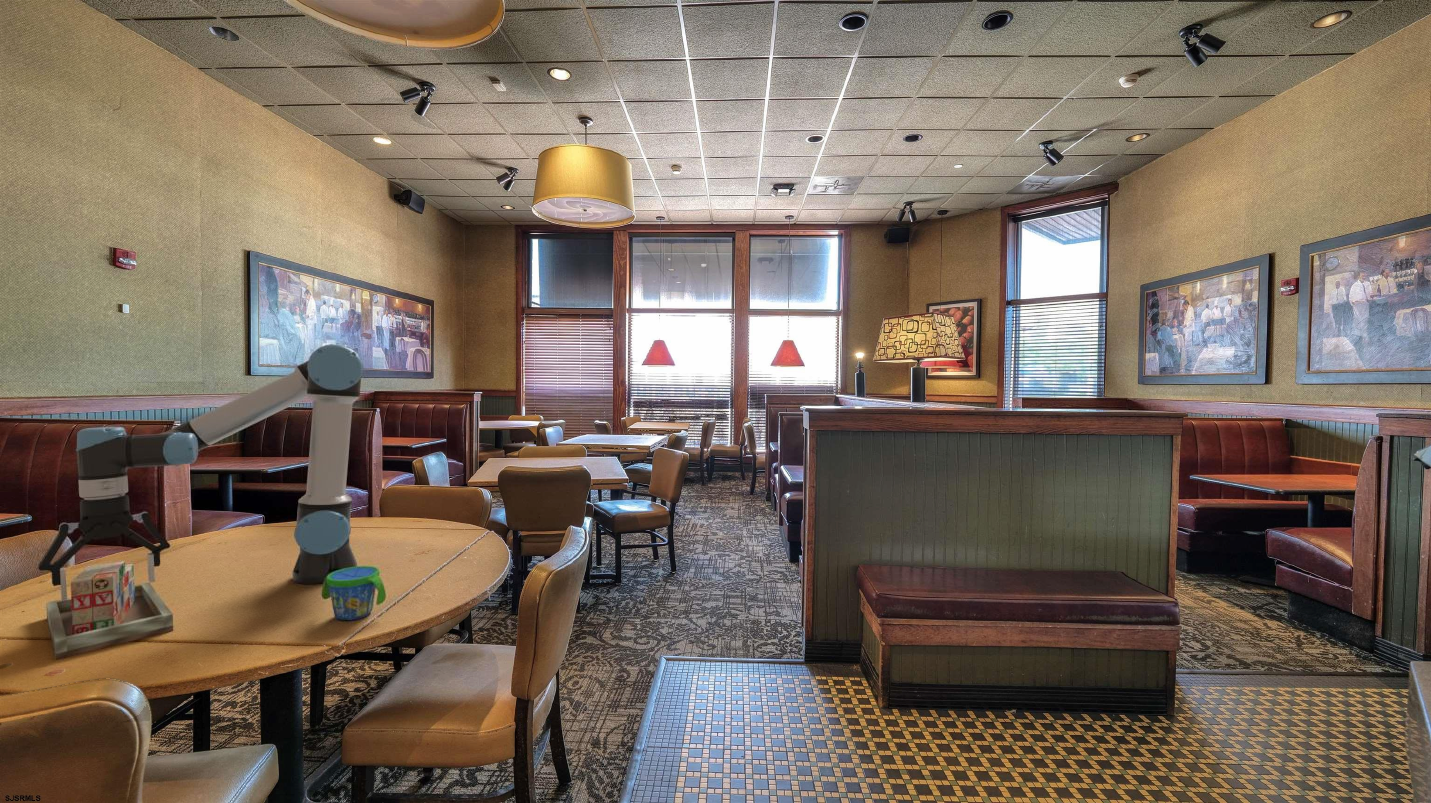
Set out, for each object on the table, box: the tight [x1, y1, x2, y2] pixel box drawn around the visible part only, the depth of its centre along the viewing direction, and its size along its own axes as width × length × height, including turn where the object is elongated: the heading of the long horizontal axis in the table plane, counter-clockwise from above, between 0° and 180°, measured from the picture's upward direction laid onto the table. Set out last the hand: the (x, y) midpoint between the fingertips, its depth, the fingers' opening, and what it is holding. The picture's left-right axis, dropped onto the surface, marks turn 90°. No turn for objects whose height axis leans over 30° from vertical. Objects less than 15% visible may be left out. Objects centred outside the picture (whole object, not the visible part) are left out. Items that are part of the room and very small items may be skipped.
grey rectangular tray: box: [45, 582, 174, 660], centre depth 129 cm, size 17×31×4 cm, turn 52°
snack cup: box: [321, 565, 387, 621], centre depth 135 cm, size 16×10×10 cm
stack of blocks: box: [70, 560, 136, 635], centre depth 129 cm, size 21×6×12 cm, turn 37°
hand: (109, 589), depth 129 cm, fingers open, 13 cm apart
